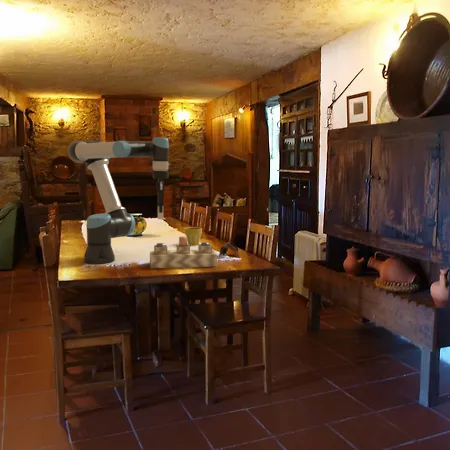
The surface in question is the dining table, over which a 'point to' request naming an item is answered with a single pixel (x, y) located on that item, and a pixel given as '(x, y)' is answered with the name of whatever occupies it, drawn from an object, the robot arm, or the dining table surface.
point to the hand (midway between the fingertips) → (160, 219)
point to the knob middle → (182, 241)
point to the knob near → (160, 245)
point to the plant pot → (193, 235)
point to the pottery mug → (231, 246)
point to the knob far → (204, 244)
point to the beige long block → (183, 257)
